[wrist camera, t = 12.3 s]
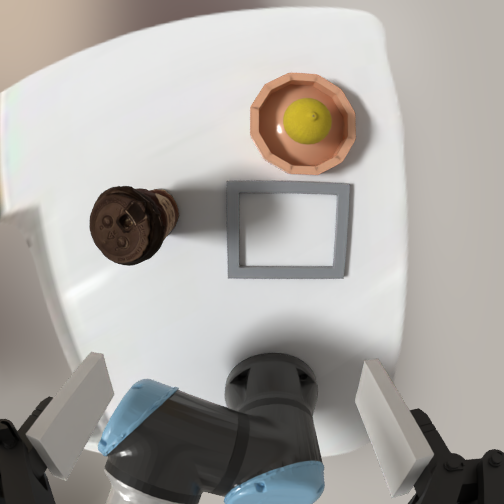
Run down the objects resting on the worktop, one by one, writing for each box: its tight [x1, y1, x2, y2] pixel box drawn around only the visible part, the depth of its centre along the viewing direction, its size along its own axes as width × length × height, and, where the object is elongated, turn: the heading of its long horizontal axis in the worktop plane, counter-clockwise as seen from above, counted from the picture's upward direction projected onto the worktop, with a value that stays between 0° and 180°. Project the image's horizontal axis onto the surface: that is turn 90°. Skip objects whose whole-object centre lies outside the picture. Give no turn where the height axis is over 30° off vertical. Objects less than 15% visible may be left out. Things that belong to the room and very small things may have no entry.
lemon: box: [283, 98, 332, 145], centre depth 32 cm, size 6×6×8 cm
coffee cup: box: [90, 186, 179, 266], centre depth 34 cm, size 9×8×13 cm
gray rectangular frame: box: [227, 181, 350, 279], centre depth 40 cm, size 13×16×1 cm
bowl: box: [250, 73, 356, 175], centre depth 35 cm, size 13×13×3 cm
